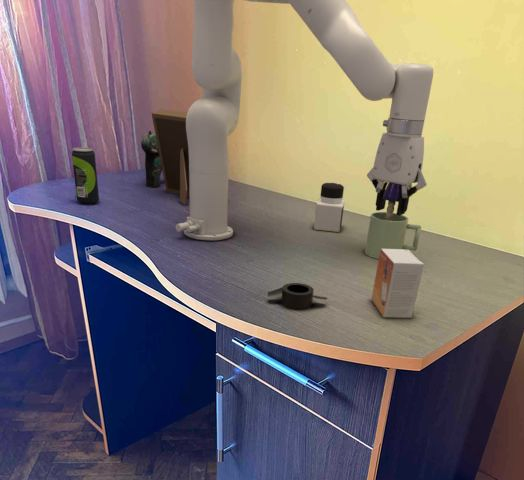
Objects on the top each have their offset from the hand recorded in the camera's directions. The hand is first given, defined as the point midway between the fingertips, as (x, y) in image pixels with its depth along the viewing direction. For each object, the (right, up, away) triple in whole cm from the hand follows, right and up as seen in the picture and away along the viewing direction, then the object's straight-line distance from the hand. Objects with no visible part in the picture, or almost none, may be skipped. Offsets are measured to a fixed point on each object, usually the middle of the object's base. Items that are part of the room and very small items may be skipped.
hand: (390, 211), depth 121 cm
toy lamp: (-1, -9, +5) cm, 10 cm away
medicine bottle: (-12, +1, +23) cm, 26 cm away
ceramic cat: (-64, +26, +62) cm, 93 cm away
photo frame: (-55, +16, +44) cm, 72 cm away
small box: (-6, -25, -24) cm, 35 cm away
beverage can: (-82, +11, +32) cm, 89 cm away
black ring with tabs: (-24, -24, -24) cm, 42 cm away
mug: (+1, -9, +5) cm, 11 cm away
